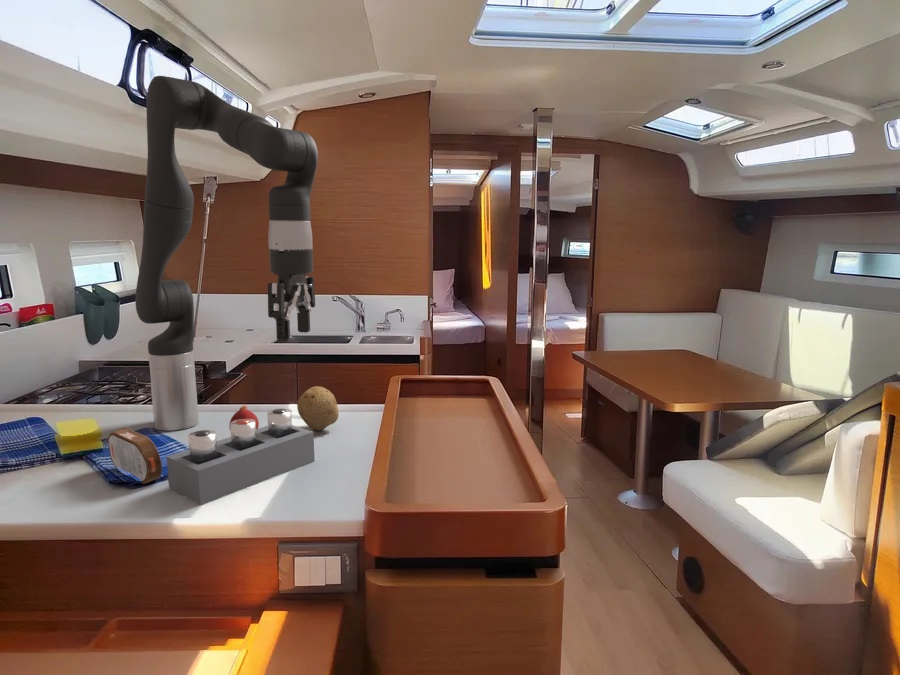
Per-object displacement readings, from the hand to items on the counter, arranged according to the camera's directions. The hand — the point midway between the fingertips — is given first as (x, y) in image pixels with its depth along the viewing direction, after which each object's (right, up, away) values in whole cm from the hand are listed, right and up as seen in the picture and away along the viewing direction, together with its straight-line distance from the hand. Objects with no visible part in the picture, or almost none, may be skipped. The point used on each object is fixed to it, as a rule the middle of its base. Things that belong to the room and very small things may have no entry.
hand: (294, 336), depth 110 cm
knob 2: (-4, -19, +7) cm, 20 cm away
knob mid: (-9, -20, 0) cm, 22 cm away
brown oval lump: (-1, -21, +26) cm, 34 cm away
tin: (-29, -26, 0) cm, 39 cm away
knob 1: (-14, -21, -6) cm, 26 cm away
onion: (-15, -23, +18) cm, 33 cm away
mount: (-9, -26, +1) cm, 27 cm away
